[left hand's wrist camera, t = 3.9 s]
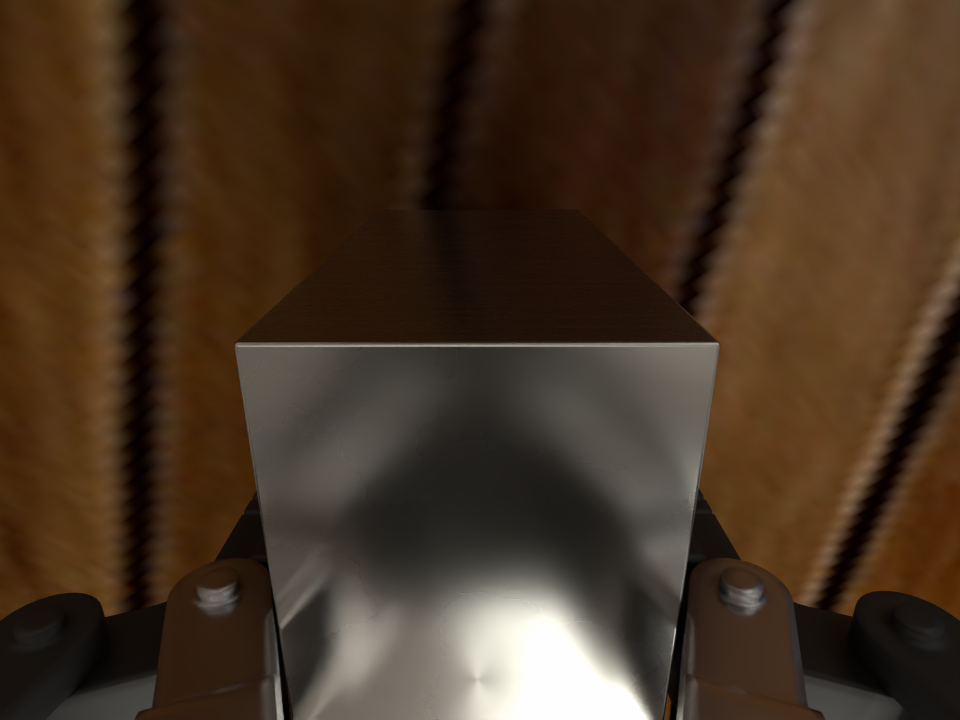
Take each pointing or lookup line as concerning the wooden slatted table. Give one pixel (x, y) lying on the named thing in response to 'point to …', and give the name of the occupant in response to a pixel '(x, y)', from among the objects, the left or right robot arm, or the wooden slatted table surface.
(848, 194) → the wooden slatted table surface
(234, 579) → the left robot arm
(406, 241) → the block
